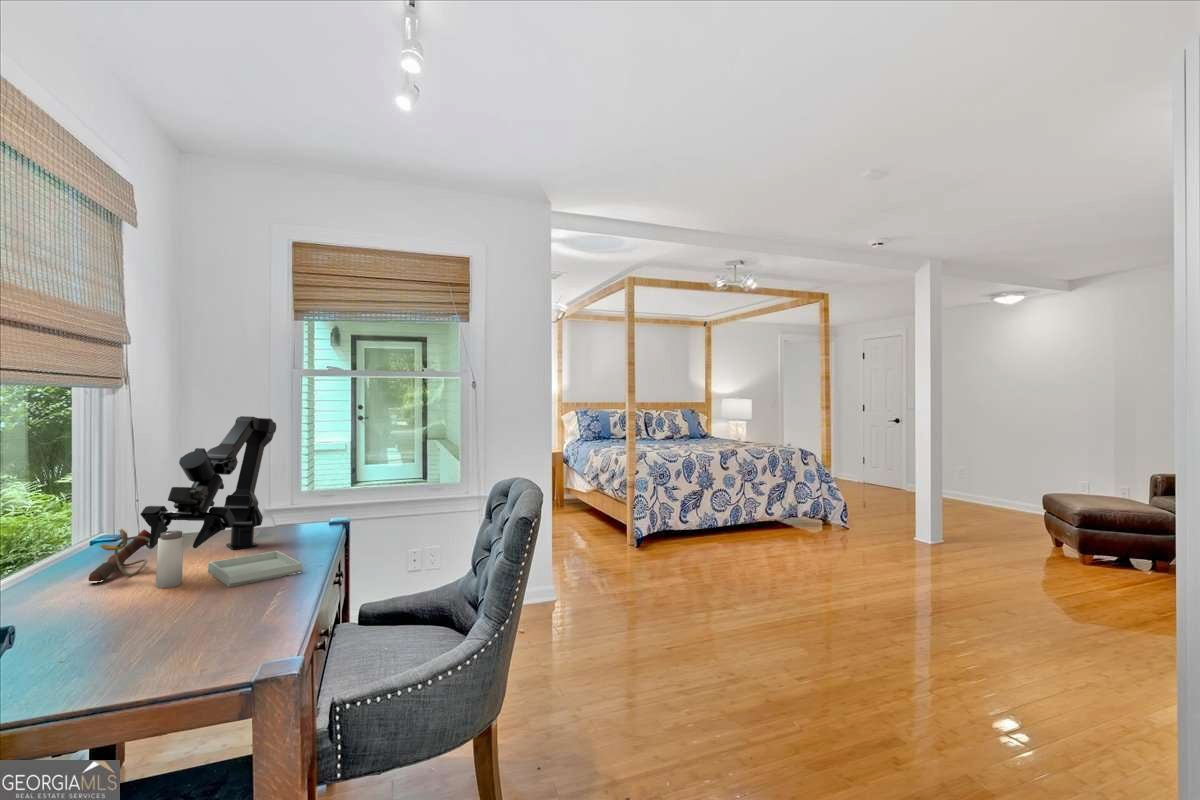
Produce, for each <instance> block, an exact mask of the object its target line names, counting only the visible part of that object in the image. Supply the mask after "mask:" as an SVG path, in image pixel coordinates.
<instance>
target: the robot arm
mask: <svg viewBox="0 0 1200 800" xmlns="http://www.w3.org/2000/svg"><path fill="white" fill-rule="evenodd" d="M276 430H277V423H276V422H275V421H273V419H272V418H266V417H265V418H264V417H263V418H262V417H256V416H243V415H241V416H238V417H236V419H235V423H234V424H233V426H232V428H230V430H229V431H228V433H227V434H226V435H225V437H224V438H223V439H222V440H221V442H220V443H219V444H218V445H217V446H215V447H212V448H209V450H206V448H205V447H204V448H203V447H202V448H201V447H199V448H197V447H195V449H194V451H189V452H188V453H185V454H184V455H183V456H181V457H180V459H179V461H178V462H179V466H180V467H181V469H182V471H183V472H184V475H186V477H187V479H188V480H189V481H190V482H193V483H192V484H191V486H190V487H189V486H186V487H185V486H171V489H170V492H169V493H168V494H169V495H168V497H167V501H169V502H172V503H173V507H174V509H177V511H169V510H168V509H167V507H166V506H165V505H148V506H144V508H143V509H142V511H141V512H140V514H139V515H140V516H141V517H142V519H143V520H144V521H145V523H146V524H147V525H148V526H149V527H150V533H151V535H150V544H149V543H148V545H149V546H150V548H152V549H155V547H156V545H158V538H160V535H161V533H162V532H166V531H169V529H168V526H170V524H172V523H171V522H172V521H188V522H189V521H190V522H196V521H197V522H203V524H202V526H201V528H200V530H199V532H198V534H197V536H196V537H195V540H194V541H193V544H192V548H193V549H198V547H200V546H201V545H202V544H203V543H205V542H206V541H208V540H209V539H211V538H212V537H214V536H215V535H216V534H218V533H220V532H221V531H222V532H223V531H225V530H226V529H230V543H228V542H227V543H226V544H225V546H226V547H228V548H229V549H232V550H239V549H245V548H252V547H258V545H259V544H258V543H256V542H254V539H255V538H254V537H255V535H254V534H255V528H256V527H259V526H262V523H263V520H264V519H263V518H264V516H263V514H262V512H261V510H260V509H259V500H258V498H257V496H256V494H255V491H256V487H257V481H258V478H259V474H260V469H261V465H262V459H263V455H264V451H265V447H266V446H267V445H268V444H269V443H271V442H272V440H273V438H274V434H275V433H276V432H277V431H276ZM245 444H246V445H245ZM244 445H245V449H244V453H243V458H242V461H241V466H240V470H239V474H238V480H237V483H236V486H235V491H234V492H233V493H231V494H228V495H226V497H225V503H224V506H215V501H214V499H215V498H216V495H217V494H218V491H219V490H224V489H225V484H224V483H223V479H222V477H221V476H223V475H224V476H225V475H227V476H228V475H229V476H230V475H232V473H233V472H234V471H235V470H236V468H237V466H238V463H239V461H238V459H237V458H238V457H237V456H238V454H239V452H240V451H241V449H242V448H243V446H244Z"/></svg>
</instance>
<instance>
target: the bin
mask: <svg viewBox="0 0 1200 800" xmlns="http://www.w3.org/2000/svg"><path fill="white" fill-rule="evenodd" d="M207 568H208V569H207V573H209V574H210V575H211V576H213V578H214V577H215V578H216V579H217V580H219V581H220V582H222V583H223V584H224V585H226V586H227V587H229V588H233V587H236V586H243V585H247V584H252V583H259V582H262V581H267V580H274V579H278V578H277V577H279V578H282V577H281V576H284V577H286V576H285V575H289V576H291V575H290V574H293V573H298V572H302V571H303V563H302V562H300V560H296V559H295V558H293V557H291V556H288V554H285V553H283V552H281V551H279V550H273V551H267V552H261V553H257V554H256V553H255V554H247V555H243V556H242V555H241V556H236V557H231V558H225V559H219V560H213V561H208V565H207ZM302 573H303V572H302Z"/></svg>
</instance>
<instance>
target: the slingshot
mask: <svg viewBox="0 0 1200 800" xmlns="http://www.w3.org/2000/svg"><path fill="white" fill-rule="evenodd" d="M119 534H120V536H121V539H122V540H121V541H120V542H118V544H117V545H109V544H104V543H103V544H101V545H100V546H99V547H101V548H102V549H103V550H105V551H113V552H114V554H112V555H111V556H109V557H108V560H107V561H106V562H103V563H101V564H100V565H99V566H98V567H97V568H95V569H94V570H93V571H92V572H91V573H90V574H89V577H88V582H89V581H101V580H104V581H106V580H107V578H109V576H111V575H112V574H113V573H115V572H116V569H119V571H120V572H121V573H122V574H123V575H125V576H127V577H132V576H131V575H133V576H135V575H137V574H139V573H140V571H142V570H143V569H144V567H146V565H147V563H148V559H147V558H143V559H140V560H137V561H134V562H129V563H125V561H126V560H128V559H129V558H130V557H132V555H134V554H135V553H136V552H138V551H139V550H140V549H141V548H142V547H144V546H146V548H148V549H149V550H153V548H150V546H149V544H150V535H151V532H150V531H148V530H146V529H142V530H141V531H140V532H139V533H138V534H137V535H134V536H130V537H128V533H127V532H126V531H125V530H124V529H122V528H121V529H120V530H119ZM131 540H132V541H131ZM128 541H130V542H129V543H128ZM140 563H142V565H141V566H140V567H139V569H137V570H136V571H134V572H132V573H130V572H127V571H125V570H124V567H129V566H133V565H136V564H140ZM136 573H137V574H136ZM134 574H135V575H134Z"/></svg>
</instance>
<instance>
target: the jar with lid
mask: <svg viewBox="0 0 1200 800" xmlns="http://www.w3.org/2000/svg"><path fill="white" fill-rule="evenodd" d="M184 547H185V536H184V535H183V531H182V530H167V531H166V532H162V533H161V535H160V538H158V543H157V552H156V567H155V568H156V572H155V574H156V575H155V588H157V589H169V588H174V587H175V588H176V587H178V586H180V585H182V584H183V567H184V566H183V563H184V549H185V548H184Z"/></svg>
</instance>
